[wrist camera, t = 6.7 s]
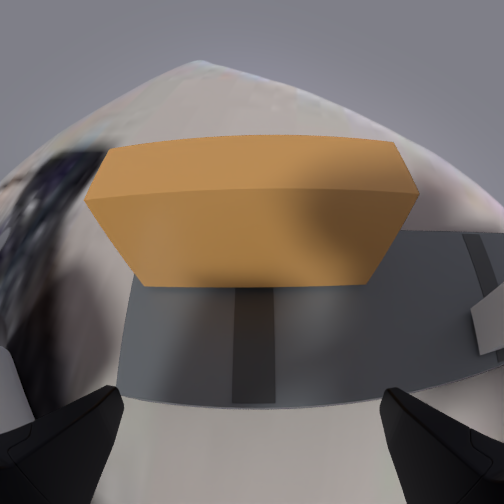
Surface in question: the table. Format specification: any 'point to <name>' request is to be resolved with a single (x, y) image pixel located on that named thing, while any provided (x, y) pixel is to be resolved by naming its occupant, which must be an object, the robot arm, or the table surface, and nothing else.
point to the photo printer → (12, 396)
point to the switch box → (316, 332)
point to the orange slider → (253, 209)
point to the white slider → (490, 321)
